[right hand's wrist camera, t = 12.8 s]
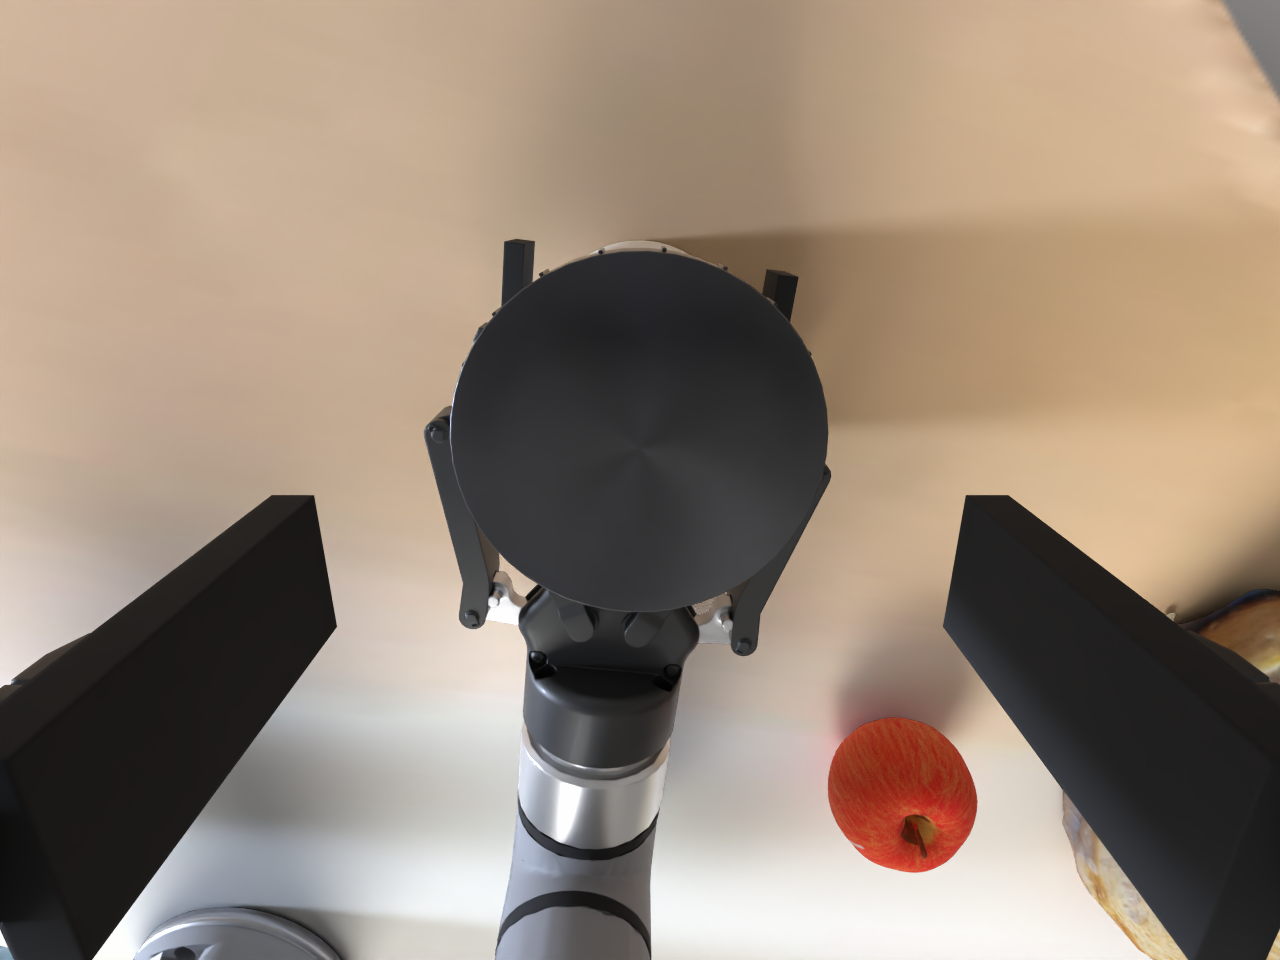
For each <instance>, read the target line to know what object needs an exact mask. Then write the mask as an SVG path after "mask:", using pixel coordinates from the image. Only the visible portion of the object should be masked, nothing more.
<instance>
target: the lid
mask: <svg viewBox="0 0 1280 960" xmlns="http://www.w3.org/2000/svg"><path fill="white" fill-rule="evenodd" d="M727 269H728V268H727V267H726V266H724V265H723V264H721V263H719V264H718V266H717V265H715V264H713V263H710V262H708V261H705V260H703V259H701V258H698V257H695V256H691V255H687V254H684V253H680V252H676V251H671V250H667V248H666V247H665V246H661V249H654V248H621V249H615V250H609V251H605V248H601V249H600V250H599V251H598V252H597V253H594V254H591V255H587V256H584V257H581V258H577V259H574V260H572V261H570V262H568V263H566V264H564V265H561V266H559V267H557V268H555V269H553V270H551V271H549V269H546V270H545V271H543V272H541V273H540V274H539V275H540V278H539V279H537V280H536V281H534V282H532V283H531V284H529V285H528V286H526V287H525V288H523V289H522V290H521V291H520V292H518V293H517V294H516V295H515V296H514V297H513V298H511V299H510V300H509V301H508V302H507V303H506V304H504V305H503V306H502V307H500V308H499V309H497V310H496V311H494V312H493V313H492V315H493V316H494V317H493V318H492V319H491V320H490V321H489V322H488V323H487V325H486V326H485V327H484V329H483V330H482V332H481V333H480V335H479V337H478V338H477V340H476V341H475V343H474V344H473V346H472V348H471V350H470V352H469V354H468V356H467V358H466V360H465V362H464V363H463V364H462V369H461V372H460V375H459V379H458V382H457V385H456V388H455V392H454V397H453V404H452V410H451V417H450V444H451V452H452V460H453V466H454V470H455V474H456V477H457V481H458V485H459V488H460V490H461V493H462V495H463V498H464V500H465V503H466V505H467V508H468V509H469V511H470V513H471V515H472V516H473V518H474V520H475V522H476V523H477V525H478V527H479V528H480V530H481V531H482V532H483V534H484V535H485V536H486V538H487V539H488V540H489V542H490V543H491V544H492V546H493V547H494V548H495V549H496V550H497V551H498V552H499V553H500V554H501V555H502V556H503V557H504V558H505V559H506V560H507V561H508V562H509V563H510V564H511V565H512V566H514V567H515V568H516V569H517V570H519V571H520V572H521V573H522V574H524V575H525V576H526V577H528V578H529V579H531V580H532V581H534V582H536V583H537V584H539V585H540V586H542V587H544V588H545V589H547V590H550V591H552V592H554V593H556V594H558V595H560V596H562V597H564V598H567V599H570V600H573V601H576V602H579V603H582V604H584V605H588V606H592V607H597V608H602V609H606V610H614V611H624V612H656V611H664V610H671V609H677V608H681V607H685V606H689V605H693V604H697V603H700V602H703V601H705V600H708V599H711V598H713V597H716V596H719V595H721V594H723V593H725V592H727V591H728V590H730V589H732V588H734V587H736V586H738V585H740V584H741V583H743V582H744V581H746V580H747V579H749V578H750V577H752V576H753V575H755V574H756V573H757V572H759V571H760V570H761V569H762V568H763V567H764V566H766V565H767V564H768V563H769V562H770V561H771V560H772V559H774V558H775V557H776V556H777V554H778V553H779V552H780V551H781V550H782V549H783V548H784V547H785V546H786V544H787V543H788V542H789V541H790V540H791V538H792V537H793V535H794V534H795V533H796V531H797V530H798V528H799V527H800V525H801V524H802V522H803V521H804V519H805V517H806V515H807V513H808V511H809V509H810V507H811V505H812V503H813V501H814V499H815V496H816V493H817V490H818V488H819V485H820V482H821V479H822V475H823V470H824V465H825V461H826V456H827V443H828V420H827V408H826V403H825V398H824V393H823V388H822V384H821V381H820V378H819V375H818V373H817V370H816V367H815V364H814V362H813V360H812V358H811V355H812V354H811V352H810V351H809V350H807V348H806V346H805V344H804V342H803V340H802V339H801V337H800V336H799V335H798V333H797V332H796V330H795V329H794V328H793V326H792V325H791V323H790V322H789V321H788V319H787V318H786V317H785V316H784V315H783V314H782V313H781V312H780V311H779V310H778V309H777V308H776V307H777V306H778V304H777V303H776V302H774V301H773V300H771V299H770V298H768V297H767V298H766V297H765V296H763V295H762V294H761V293H759V292H758V291H757V290H756V289H754V288H753V287H752V286H751V285H749V284H748V283H746V282H745V281H743V280H742V279H740V278H738V277H737V276H735V275H733V274H732V273H730V272H728V271H727Z"/></svg>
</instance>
